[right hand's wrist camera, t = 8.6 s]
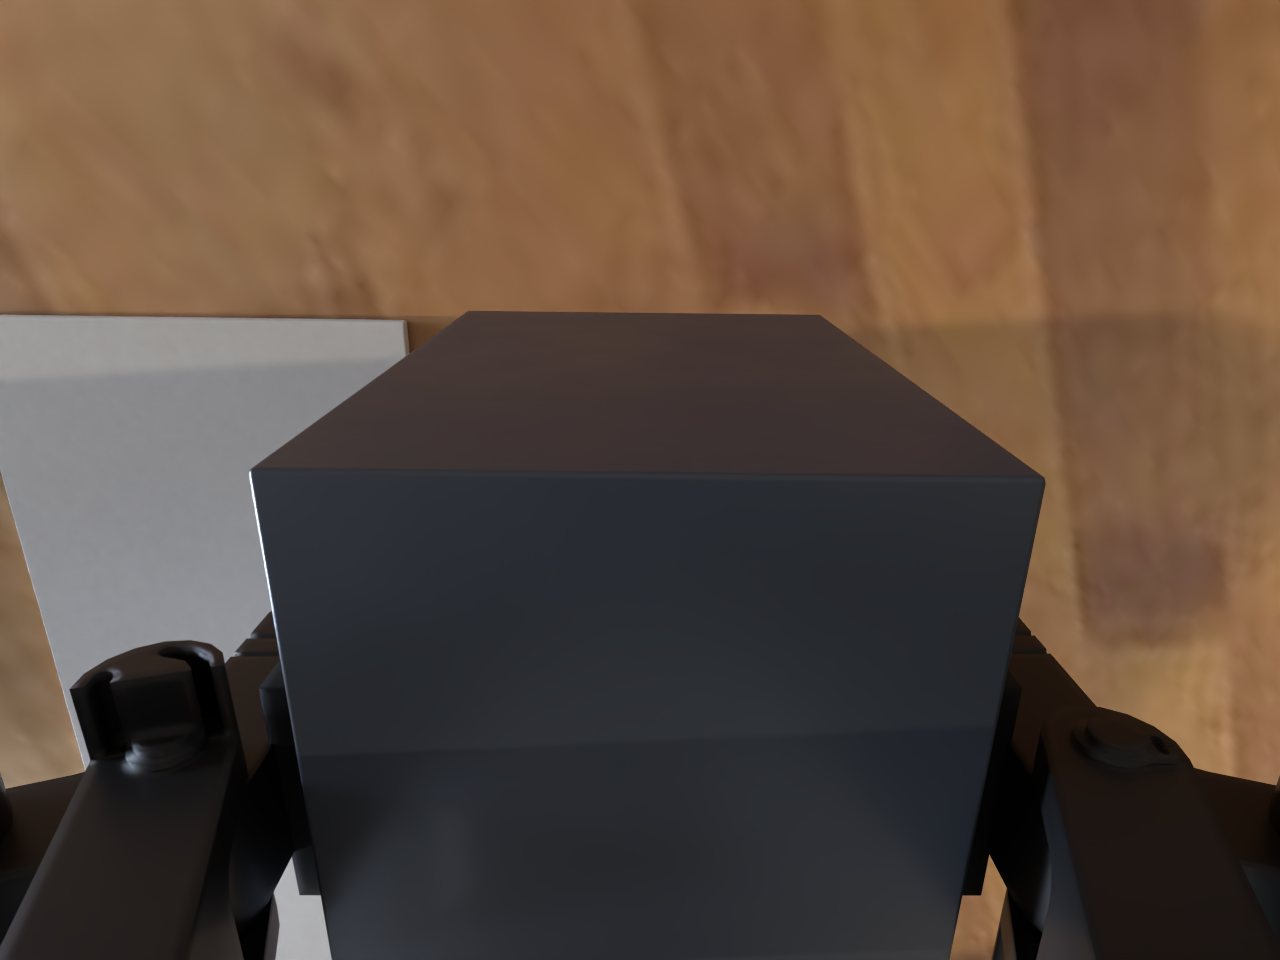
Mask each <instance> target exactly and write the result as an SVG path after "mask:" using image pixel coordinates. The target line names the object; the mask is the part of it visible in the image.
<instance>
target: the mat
mask: <svg viewBox="0 0 1280 960" xmlns="http://www.w3.org/2000/svg"><path fill="white" fill-rule="evenodd" d="M408 354H410V351H409V340H408V329H407V321H406V320H364V319H289V318H214V317H138V316H63V315H0V471H1V475H2V478H3V482H4V485H5V489H6V492H7V496H8V499H9V503H10V507H11V510H12V514H13V517H14V521H15V524H16V528H17V531H18V535H19V538H20V542H21V545H22V549H23V552H24V556H25V559H26V563H27V567H28V570H29V574H30V577H31V581H32V584H33V588H34V591H35V595H36V598H37V602H38V605H39V609H40V612H41V616H42V619H43V623H44V626H45V630H46V634H47V637H48V641H49V644H50V648H51V651H52V655H53V658H54V662H55V665H56V669H57V672H58V676H59V679H60V683H61V686H62V690H63V693H64V697H65V701H66V704H67V708H68V711H69V715H70V718H71V722H72V725H73V729H74V732H75V736H76V739H77V743H78V746H79V750H80V753H81V757H82V761H83V764H84V768H85V771H86V769H87V767H88V765H89V763H90V757H89V754H88V751H87V747H86V744H85V741H84V737H83V734H82V731H81V727H80V724H79V720H78V717H77V714H76V710H75V707H74V704H73V700H72V697H71V694H70V690H69V689H70V688H71V687H72V686H73V685H74V684H75V682H76V681H77V680H78V679H79V678H80V677H81V676H82V675H83V674H84V673H86V672H87V671H89V670H90V669H92V668H94V667H95V666H97V665H99V664H100V663H102V662H104V661H105V660H107V659H109V658H112V657H114V656H117V655H119V654H122V653H124V652H127V651H129V650H132V649H134V648H138V647H142V646H147V645H151V644H156V643H160V642H164V641H182V640H193V641H199V642H204V643H210V644H212V645H213V646H215V647H216V648H217V649H219V650H220V651H221V652H223V657H224V661H225V663H226V662H227V660H228V659H229V658H230V657H234V656H235V651H236V650H237V649H238V648H239V647H240V645H241V644H242V643H243V642H244V641H245V640H246V638H250V634H251V633H252V631H253V630H254V629H255V628H256V627H257V626H258V625H259V623H260V622H261V621H262V620H263V619H264V618H265V616H266V615H267V614H268V613H269V612H271V611H272V608H271V602H270V596H269V591H268V585H267V579H266V573H265V567H264V561H263V555H262V550H261V544H260V538H259V532H258V526H257V520H256V515H255V509H254V503H253V497H252V491H251V485H250V480H249V471H250V469H251V468H252V467H254V466H255V465H256V464H258V463H259V462H260V461H262V460H263V459H265V458H266V457H267V456H269V455H270V454H271V453H273V452H274V451H276V450H277V449H278V448H280V447H281V446H283V445H284V444H285V443H287V442H288V441H289V440H291V439H292V438H294V437H295V436H296V435H298V434H299V433H300V432H302V431H303V430H305V429H306V428H307V427H309V426H310V425H312V424H313V423H314V422H316V421H317V420H318V419H320V418H321V417H323V416H324V415H325V414H327V413H328V412H329V411H331V410H332V409H334V408H335V407H336V406H338V405H339V404H341V403H342V402H343V401H345V400H346V399H347V398H349V397H350V396H352V395H353V394H354V393H356V392H357V391H358V390H360V389H361V388H363V387H364V386H365V385H367V384H368V383H370V382H371V381H372V380H374V379H375V378H376V377H378V376H379V375H381V374H382V373H383V372H385V371H386V370H387V369H389V368H390V367H392V366H393V365H394V364H396V363H397V362H398V361H400V360H401V359H403V358H404V357H405V356H407V355H408ZM274 895H275V899H276V904H277V909H278V916H279V923H280V927H279V935H278V944H277V952H276V960H332V959H331V953H330V947H329V941H328V935H327V929H326V924H325V918H324V912H323V906H322V900H321V895H299V890H298V885H297V880H296V875H295V870H294V865H293V860H292V857H291V859H290V861H289V863H288V865H287V867H286V869H285V871H284V873H283V875H282V877H281V879H280V881H279V883H278V885H277V886H276V888H275V890H274Z"/></svg>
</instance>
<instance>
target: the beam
mask: <svg viewBox="0 0 1280 960" xmlns="http://www.w3.org/2000/svg"><path fill="white" fill-rule="evenodd" d="M249 480H250V485H251V491H252V497H253V503H254V509H255V515H256V520H257V526H258V532H259V538H260V544H261V550H262V555H263V561H264V567H265V573H266V579H267V585H268V591H269V596H270V602H271V608H272V614H273V620H274V626H275V631H276V637H277V643H278V649H279V655H280V661H281V667H282V672H283V678H284V684H285V690H286V696H287V702H288V707H289V713H290V719H291V725H292V731H293V737H294V742H295V748H296V754H297V760H298V766H299V772H300V778H301V783H302V789H303V795H304V801H305V807H306V813H307V818H308V824H309V830H310V836H311V842H312V848H313V853H314V859H315V865H316V871H317V877H318V883H319V889H320V894H321V900H322V906H323V912H324V918H325V924H326V929H327V935H328V941H329V947H330V953H331V959H332V960H949V959H950V954H951V949H952V944H953V939H954V934H955V929H956V924H957V919H958V914H959V909H960V904H961V899H962V894H963V889H964V884H965V879H966V874H967V869H968V864H969V860H970V855H971V850H972V845H973V840H974V835H975V830H976V825H977V820H978V815H979V810H980V805H981V800H982V795H983V790H984V785H985V780H986V775H987V770H988V766H989V761H990V756H991V751H992V746H993V741H994V736H995V731H996V726H997V721H998V716H999V711H1000V706H1001V701H1002V696H1003V691H1004V686H1005V681H1006V676H1007V672H1008V667H1009V662H1010V657H1011V652H1012V647H1013V642H1014V637H1015V632H1016V627H1017V622H1018V617H1019V612H1020V607H1021V602H1022V597H1023V592H1024V587H1025V582H1026V577H1027V573H1028V568H1029V563H1030V558H1031V553H1032V548H1033V543H1034V538H1035V533H1036V528H1037V523H1038V518H1039V513H1040V508H1041V503H1042V498H1043V493H1044V488H1045V479H1044V477H1043V476H1041V475H1040V474H1038V473H1037V472H1036V471H1034V470H1033V469H1032V468H1030V467H1029V466H1027V465H1026V464H1025V463H1023V462H1022V461H1021V460H1019V459H1018V458H1016V457H1015V456H1014V455H1012V454H1011V453H1009V452H1008V451H1007V450H1005V449H1004V448H1003V447H1001V446H1000V445H998V444H997V443H996V442H994V441H993V440H992V439H990V438H989V437H987V436H986V435H985V434H983V433H982V432H981V431H979V430H978V429H976V428H975V427H974V426H972V425H971V424H969V423H968V422H967V421H965V420H964V419H963V418H961V417H960V416H958V415H957V414H956V413H954V412H953V411H952V410H950V409H949V408H947V407H946V406H945V405H943V404H942V403H940V402H939V401H938V400H936V399H935V398H934V397H932V396H931V395H929V394H928V393H927V392H925V391H924V390H923V389H921V388H920V387H918V386H917V385H916V384H914V383H913V382H911V381H910V380H909V379H907V378H906V377H905V376H903V375H902V374H900V373H899V372H898V371H896V370H895V369H894V368H892V367H891V366H889V365H888V364H887V363H885V362H884V361H883V360H881V359H880V358H878V357H877V356H876V355H874V354H873V353H871V352H870V351H869V350H867V349H866V348H865V347H863V346H862V345H860V344H859V343H858V342H856V341H855V340H854V339H852V338H851V337H849V336H848V335H847V334H845V333H844V332H842V331H841V330H840V329H838V328H837V327H836V326H834V325H833V324H831V323H830V322H829V321H827V320H826V319H825V318H823V317H822V316H820V315H773V314H685V313H597V312H509V311H468V312H466V313H465V314H463V315H462V316H461V317H459V318H458V319H456V320H455V321H454V322H452V323H451V324H450V325H448V326H447V327H445V328H444V329H443V330H441V331H440V332H439V333H437V334H436V335H434V336H433V337H432V338H430V339H429V340H427V341H426V342H425V343H423V344H422V345H421V346H419V347H418V348H416V349H415V350H414V351H412V352H411V353H410V354H408V355H407V356H405V357H404V358H403V359H401V360H400V361H398V362H397V363H396V364H394V365H393V366H392V367H390V368H389V369H387V370H386V371H385V372H383V373H382V374H381V375H379V376H378V377H376V378H375V379H374V380H372V381H371V382H370V383H368V384H367V385H365V386H364V387H363V388H361V389H360V390H358V391H357V392H356V393H354V394H353V395H352V396H350V397H349V398H347V399H346V400H345V401H343V402H342V403H341V404H339V405H338V406H336V407H335V408H334V409H332V410H331V411H329V412H328V413H327V414H325V415H324V416H323V417H321V418H320V419H318V420H317V421H316V422H314V423H313V424H312V425H310V426H309V427H307V428H306V429H305V430H303V431H302V432H300V433H299V434H298V435H296V436H295V437H294V438H292V439H291V440H289V441H288V442H287V443H285V444H284V445H283V446H281V447H280V448H278V449H277V450H276V451H274V452H273V453H271V454H270V455H269V456H267V457H266V458H265V459H263V460H262V461H260V462H259V463H258V464H256V465H255V466H254V467H252V468H251V469H250V471H249Z"/></svg>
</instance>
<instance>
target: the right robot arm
mask: <svg viewBox="0 0 1280 960" xmlns="http://www.w3.org/2000/svg"><path fill="white" fill-rule="evenodd" d="M69 690H70V694H71V697H72V700H73V704H74V707H75V710H76V714H77V717H78V720H79V724H80V727H81V731H82V734H83V737H84V741H85V744H86V747H87V751H88V754H89V757H90V763H89V765H88V767H87V769H86V771H85V772H83V773H79V774H75V775H71V776H66V777H61V778H56V779H52V780H47V781H42V782H37V783H32V784H27V785H22V786H17V787H12V788H8V789H5V786H4V783H3V780H2V777H1V774H0V960H276V952H277V944H278V935H279V927H280V923H279V916H278V909H277V904H276V899H275V895H274V890H275V888H276V886H277V885H278V883H279V881H280V879H281V877H282V875H283V873H284V871H285V869H286V867H287V865H288V863H289V861H290V859H291V857H292V860H293V865H294V870H295V875H296V880H297V885H298V890H299V895H321V894H320V889H319V883H318V877H317V871H316V865H315V859H314V853H313V848H312V842H311V836H310V830H309V824H308V818H307V813H306V807H305V801H304V795H303V789H302V783H301V778H300V772H299V766H298V760H297V754H296V748H295V742H294V737H293V731H292V725H291V719H290V713H289V707H288V702H287V696H286V690H285V684H284V678H283V672H282V667H281V661H280V655H279V649H278V643H277V637H276V631H275V626H274V620H273V614H272V611H271V612H269V613H268V614H267V615H266V616H265V618H264V619H263V620H262V621H261V622H260V623H259V625H258V626H257V627H256V628H255V629H254V630H253V631H252V633H251V634H250V638H246V640H245V641H244V642H243V643H242V644H241V645H240V647H239V648H238V649H237V650H236V651H235V656H234V657H230V658H229V659H228V660H227V662H226V663H225V661H224V657H223V652H221V651H220V650H219V649H217V648H216V647H215V646H213V645H212V644H210V643H204V642H199V641H193V640H182V641H164V642H160V643H156V644H151V645H147V646H142V647H138V648H134V649H132V650H129V651H127V652H124V653H122V654H119V655H117V656H114V657H112V658H109V659H107V660H105V661H104V662H102V663H100V664H99V665H97V666H95V667H94V668H92V669H90V670H89V671H87V672H86V673H84V674H83V675H82V676H81V677H80V678H79V679H78V680H77V681H76V682H75V684H74V685H73V686H72V687H71V688H70V689H69ZM989 854H990V856H991V858H992V860H993V862H994V864H995V866H996V868H997V870H998V872H999V874H1000V875H1001V877H1002V879H1003V881H1004V883H1005V885H1006V887H1007V890H1006V895H1005V899H1004V904H1003V909H1002V913H1001V918H1000V923H999V927H998V932H997V937H996V941H995V946H994V951H993V955H992V960H1280V776H1279V779H1278V782H1277V785H1271V784H1266V783H1261V782H1256V781H1251V780H1246V779H1241V778H1237V777H1232V776H1227V775H1222V774H1217V773H1212V772H1207V771H1204V770H1200V769H1196V768H1194V767H1193V765H1192V763H1191V761H1190V759H1189V758H1188V757H1187V755H1186V754H1185V753H1184V752H1183V750H1182V749H1181V748H1180V747H1179V745H1178V744H1177V743H1176V742H1175V741H1174V740H1172V739H1171V738H1169V737H1168V736H1167V735H1165V734H1164V733H1162V732H1161V731H1160V730H1158V729H1157V728H1155V727H1154V726H1152V725H1150V724H1147V723H1145V722H1143V721H1141V720H1139V719H1136V718H1134V717H1132V716H1130V715H1128V714H1124V713H1120V712H1116V711H1113V710H1109V709H1105V708H1101V707H1096V706H1095V704H1094V703H1093V702H1092V701H1091V700H1090V699H1089V697H1088V696H1087V695H1086V694H1085V693H1084V692H1083V691H1082V689H1081V688H1080V687H1079V686H1078V685H1077V684H1076V683H1075V681H1074V680H1073V679H1072V678H1071V677H1070V676H1069V675H1068V673H1067V672H1066V671H1065V670H1064V669H1063V668H1062V667H1061V665H1060V664H1059V663H1058V662H1057V661H1056V660H1055V658H1054V657H1053V656H1052V655H1051V654H1047V652H1046V648H1045V647H1044V646H1043V645H1042V644H1041V642H1040V641H1039V640H1038V639H1037V638H1036V637H1035V636H1031V631H1030V630H1029V629H1028V628H1027V626H1026V625H1025V624H1024V623H1023V622H1022V621H1021V619H1020V618H1019V617H1018V622H1017V627H1016V632H1015V637H1014V642H1013V647H1012V652H1011V657H1010V662H1009V667H1008V672H1007V676H1006V681H1005V686H1004V691H1003V696H1002V701H1001V706H1000V711H999V716H998V721H997V726H996V731H995V736H994V741H993V746H992V751H991V756H990V761H989V766H988V770H987V775H986V780H985V785H984V790H983V795H982V800H981V805H980V810H979V815H978V820H977V825H976V830H975V835H974V840H973V845H972V850H971V855H970V860H969V864H968V869H967V874H966V879H965V884H964V889H963V894H962V895H981V893H982V888H983V883H984V878H985V873H986V868H987V863H988V858H989Z"/></svg>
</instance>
